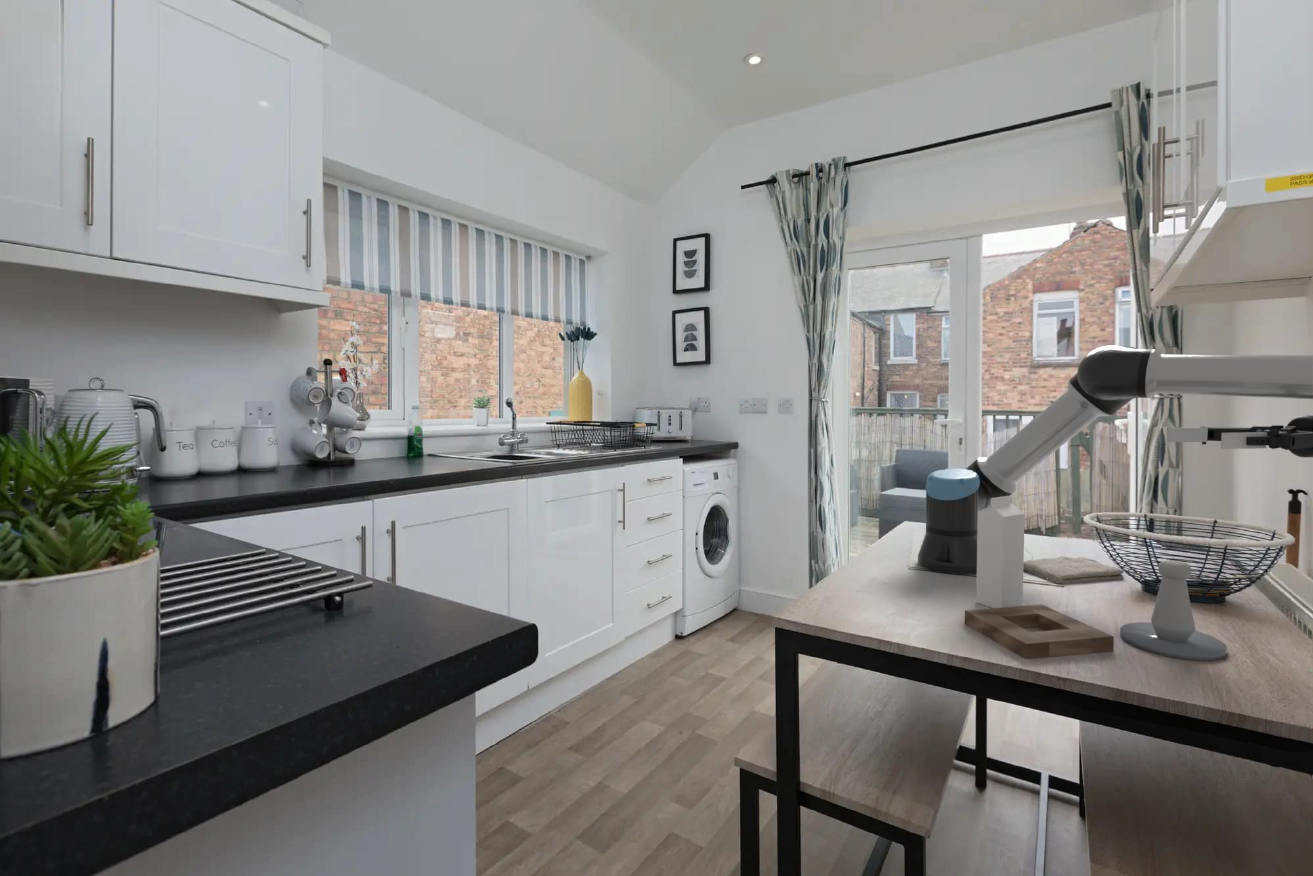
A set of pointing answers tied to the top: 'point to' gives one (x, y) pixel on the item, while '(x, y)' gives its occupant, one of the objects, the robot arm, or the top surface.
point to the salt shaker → (1173, 603)
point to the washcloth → (1072, 569)
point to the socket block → (1054, 641)
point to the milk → (1000, 554)
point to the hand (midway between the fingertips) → (1194, 437)
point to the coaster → (1173, 643)
